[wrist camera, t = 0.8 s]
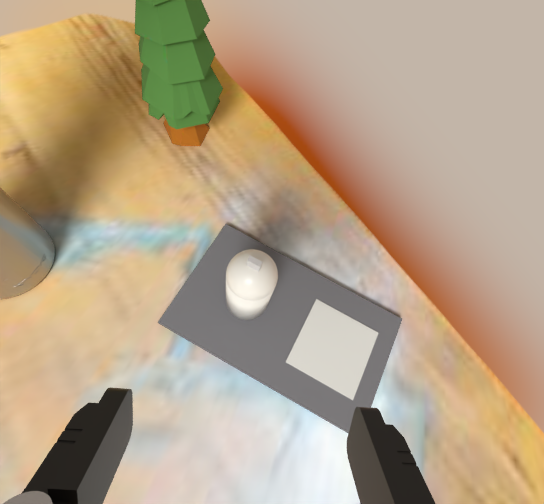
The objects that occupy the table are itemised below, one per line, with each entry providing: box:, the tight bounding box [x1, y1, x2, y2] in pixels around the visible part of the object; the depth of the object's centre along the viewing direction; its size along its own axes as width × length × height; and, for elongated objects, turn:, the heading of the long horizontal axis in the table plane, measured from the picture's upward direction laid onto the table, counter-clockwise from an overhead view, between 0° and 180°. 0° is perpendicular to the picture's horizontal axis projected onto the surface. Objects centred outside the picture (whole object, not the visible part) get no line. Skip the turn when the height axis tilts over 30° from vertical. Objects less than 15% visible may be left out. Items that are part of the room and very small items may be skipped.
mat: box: [158, 224, 402, 433], centre depth 38 cm, size 24×14×1 cm, turn 62°
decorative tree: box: [135, 0, 223, 146], centre depth 34 cm, size 10×9×30 cm
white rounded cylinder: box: [226, 249, 278, 320], centre depth 33 cm, size 5×5×12 cm
